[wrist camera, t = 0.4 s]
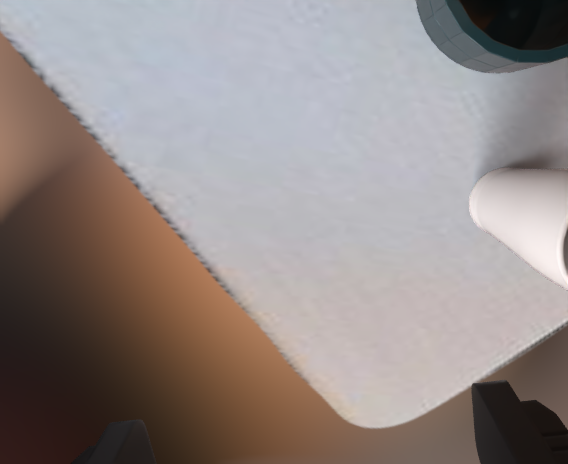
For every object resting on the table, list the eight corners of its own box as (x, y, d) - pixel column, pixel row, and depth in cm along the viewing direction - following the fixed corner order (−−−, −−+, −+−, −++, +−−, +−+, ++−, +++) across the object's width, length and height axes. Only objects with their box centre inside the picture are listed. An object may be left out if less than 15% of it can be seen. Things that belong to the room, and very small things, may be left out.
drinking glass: (541, 241, 40) (687, 307, 25) (455, 244, 40) (551, 311, 25) (547, 155, 39) (706, 172, 24) (458, 158, 39) (562, 177, 24)
